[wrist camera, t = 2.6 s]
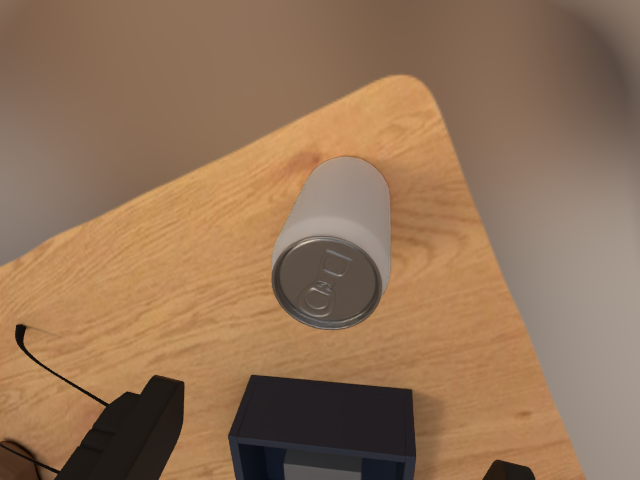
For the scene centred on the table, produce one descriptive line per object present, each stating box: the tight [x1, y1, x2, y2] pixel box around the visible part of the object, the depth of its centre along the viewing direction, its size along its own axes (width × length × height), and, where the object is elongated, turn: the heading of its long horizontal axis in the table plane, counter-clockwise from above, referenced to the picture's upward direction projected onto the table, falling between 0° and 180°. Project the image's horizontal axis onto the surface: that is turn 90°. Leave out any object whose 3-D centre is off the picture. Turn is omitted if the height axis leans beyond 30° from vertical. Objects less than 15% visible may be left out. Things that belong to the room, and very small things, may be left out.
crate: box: [228, 375, 416, 480], centre depth 42 cm, size 16×16×7 cm
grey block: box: [283, 449, 363, 480], centre depth 42 cm, size 7×7×5 cm
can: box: [271, 157, 391, 330], centre depth 27 cm, size 6×6×12 cm
